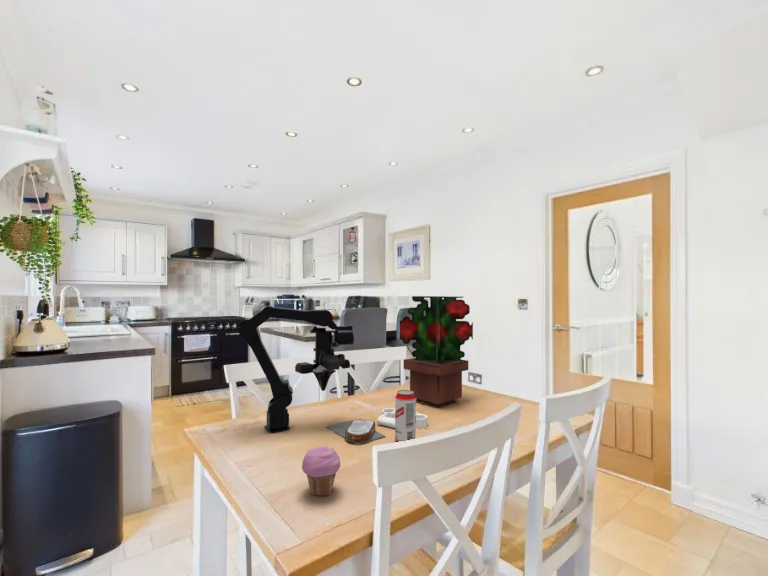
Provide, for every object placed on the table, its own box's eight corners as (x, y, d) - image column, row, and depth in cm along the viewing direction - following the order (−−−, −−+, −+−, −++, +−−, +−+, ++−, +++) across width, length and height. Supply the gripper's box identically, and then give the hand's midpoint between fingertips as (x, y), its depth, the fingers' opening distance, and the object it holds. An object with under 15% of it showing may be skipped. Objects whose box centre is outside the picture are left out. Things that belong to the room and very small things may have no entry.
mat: (356, 445, 113) (356, 443, 113) (326, 427, 128) (326, 426, 128) (385, 437, 119) (385, 435, 119) (353, 421, 134) (353, 419, 134)
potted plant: (432, 392, 176) (433, 296, 177) (472, 402, 159) (472, 296, 160) (399, 400, 161) (399, 296, 162) (439, 412, 144) (440, 296, 145)
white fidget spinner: (369, 424, 132) (391, 413, 144) (413, 435, 122) (433, 423, 134) (369, 415, 132) (391, 405, 144) (414, 425, 122) (433, 413, 134)
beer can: (401, 450, 109) (401, 395, 109) (391, 443, 114) (391, 390, 115) (419, 447, 112) (419, 393, 112) (408, 439, 117) (408, 388, 118)
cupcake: (339, 501, 82) (339, 455, 82) (299, 503, 81) (299, 456, 81) (340, 481, 91) (341, 439, 91) (304, 482, 90) (305, 440, 90)
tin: (341, 442, 114) (368, 446, 113) (342, 431, 114) (369, 435, 113) (353, 425, 129) (377, 428, 127) (353, 416, 129) (377, 419, 127)
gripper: (309, 350, 118) (308, 400, 118) (358, 346, 130) (358, 391, 129) (294, 346, 127) (294, 392, 127) (342, 342, 138) (341, 385, 138)
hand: (323, 390), depth 130 cm, fingers closed
